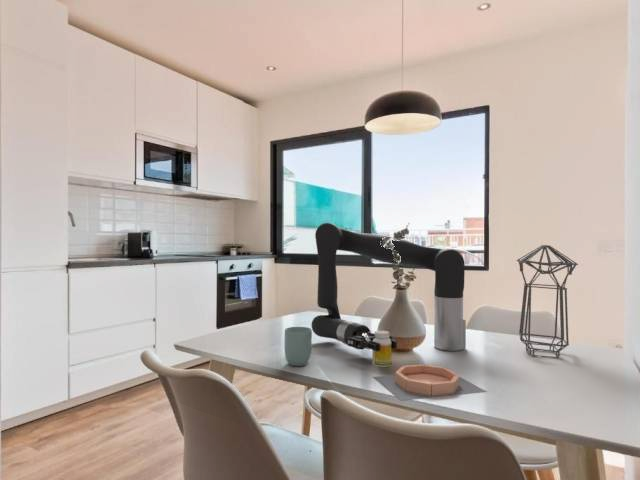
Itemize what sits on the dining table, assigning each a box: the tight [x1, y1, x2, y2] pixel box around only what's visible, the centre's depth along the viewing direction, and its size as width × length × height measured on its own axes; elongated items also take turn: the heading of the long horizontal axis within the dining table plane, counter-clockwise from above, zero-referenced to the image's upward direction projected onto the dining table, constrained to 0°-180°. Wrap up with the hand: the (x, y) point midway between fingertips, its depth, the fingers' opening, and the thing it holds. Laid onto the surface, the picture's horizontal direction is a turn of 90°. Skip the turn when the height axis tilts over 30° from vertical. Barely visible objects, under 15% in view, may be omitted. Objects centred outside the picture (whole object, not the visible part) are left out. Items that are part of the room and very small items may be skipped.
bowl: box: [394, 363, 460, 396], centre depth 98 cm, size 14×14×2 cm
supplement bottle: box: [371, 330, 392, 368], centre depth 114 cm, size 5×5×10 cm
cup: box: [283, 326, 313, 367], centre depth 115 cm, size 8×8×10 cm
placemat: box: [372, 374, 488, 402], centre depth 98 cm, size 22×16×1 cm
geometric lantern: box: [516, 244, 579, 359], centre depth 128 cm, size 16×16×35 cm
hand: (387, 346), depth 112 cm, fingers closed on supplement bottle, 5 cm apart
